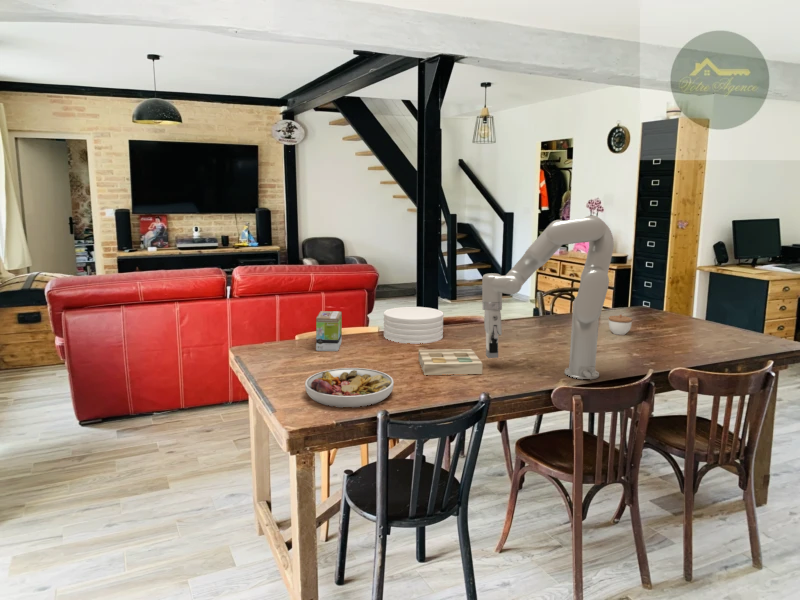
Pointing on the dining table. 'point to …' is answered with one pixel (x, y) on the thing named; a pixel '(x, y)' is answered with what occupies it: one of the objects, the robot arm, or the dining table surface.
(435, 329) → the plate stack
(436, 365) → the socket block
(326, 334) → the tea box
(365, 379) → the bowl
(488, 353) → the plug
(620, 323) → the lidded jar
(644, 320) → the dining table surface
